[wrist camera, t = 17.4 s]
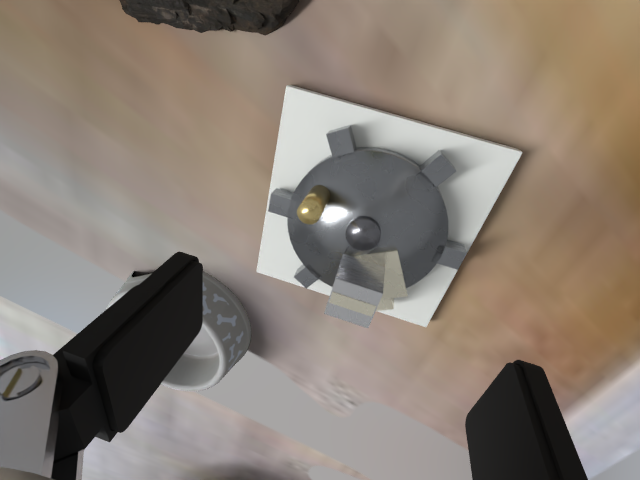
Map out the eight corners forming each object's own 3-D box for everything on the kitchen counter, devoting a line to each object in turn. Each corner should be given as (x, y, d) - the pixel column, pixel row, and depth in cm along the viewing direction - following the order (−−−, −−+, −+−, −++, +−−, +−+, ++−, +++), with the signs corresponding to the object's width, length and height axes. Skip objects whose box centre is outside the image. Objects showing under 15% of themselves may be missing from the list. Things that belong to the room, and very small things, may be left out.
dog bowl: (102, 276, 44) (67, 301, 40) (214, 249, 38) (188, 276, 33) (168, 367, 51) (144, 398, 46) (272, 357, 45) (257, 392, 40)
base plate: (517, 148, 26) (522, 152, 25) (425, 319, 36) (426, 327, 35) (290, 84, 28) (286, 85, 27) (260, 265, 37) (256, 271, 36)
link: (385, 267, 30) (382, 294, 27) (371, 299, 32) (367, 328, 29) (343, 253, 30) (335, 278, 27) (332, 286, 32) (324, 314, 29)
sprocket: (360, 77, 25) (350, 81, 20) (513, 217, 27) (536, 250, 23) (244, 229, 34) (219, 257, 29) (368, 325, 36) (363, 365, 31)
